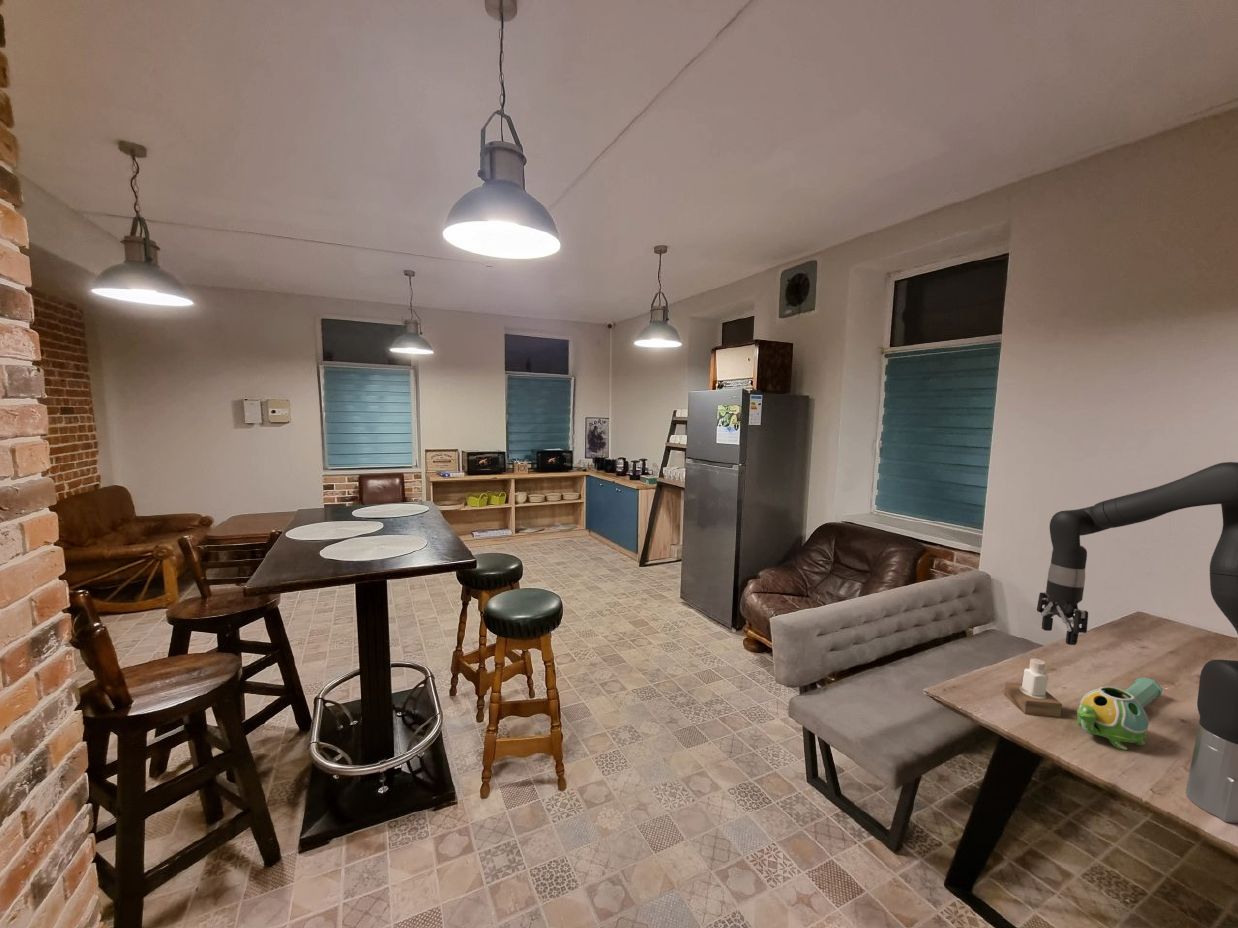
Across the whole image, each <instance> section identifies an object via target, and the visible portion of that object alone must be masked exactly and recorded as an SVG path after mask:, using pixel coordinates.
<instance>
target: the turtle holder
mask: <svg viewBox="0 0 1238 928" xmlns="http://www.w3.org/2000/svg"><path fill="white" fill-rule="evenodd" d="M1122 694H1123V695H1126V696H1127V697H1129V699H1126V698H1125V697H1124V696H1123V695H1122ZM1078 704H1079V707H1078V708H1077V710H1076V715H1077V720H1076V723H1077V725H1079V726H1080V727H1081V729H1083V731H1084V732H1085V733H1087V734H1089V735H1096V736H1100V737H1104V738H1107V739H1108V740H1109V743H1110V744H1111V746H1113V747H1114V748H1117V749H1119V750H1123V751H1127V750H1128V747H1127V746H1126V745H1124V744H1123V743H1121V742H1125V743H1133V744H1134V745H1137V746H1143V747H1144V746H1145V745H1146V742H1145V741H1144V740H1145V739H1146V738H1147V731H1148V729H1149V718H1148V716H1147V713H1146V710H1145V708H1142V706H1141V705H1140V703H1139V702H1138V701H1137V700H1136V699H1135V697H1134V696H1133V695H1132V694H1130V693H1128V692H1126V691H1125V690H1124V689H1121V688H1119V687H1114V686H1100V687H1098V688H1096V689H1093V690H1090V691H1088V692H1087V693H1086V694H1084V695H1083V697H1082V698H1081V700H1080V702H1079V703H1078Z"/></svg>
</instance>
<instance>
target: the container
mask: <svg viewBox="0 0 1238 928" xmlns="http://www.w3.org/2000/svg"><path fill="white" fill-rule="evenodd" d="M1124 691H1126V692H1128V693H1130V694H1132V695H1133V696H1134V697H1135V699H1136V700H1137V701H1138V702H1139V703H1140V705H1141V706H1142V708H1143V709H1145V707H1147V706H1148V704H1150V703H1151V702H1152V701H1154V699H1155V698H1160V697H1161V696H1162V692H1163V687H1161V685H1160V684H1159V683H1158V682H1157V681H1156V680H1154V679H1152V678H1148V677H1146V676H1143V677H1139V678H1137V679H1135V680H1134V683H1133V684H1132V685H1131V686H1129V687H1128V688H1127V689H1125V690H1124ZM1122 695H1123V694H1122ZM1123 696H1124V697H1125V698H1126V699H1129V697H1127V696H1126V695H1123Z"/></svg>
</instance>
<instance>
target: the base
mask: <svg viewBox="0 0 1238 928" xmlns="http://www.w3.org/2000/svg"><path fill="white" fill-rule="evenodd" d="M1003 692H1004V693H1003V696H1005V697H1006V698H1007V699H1008V700H1009V701H1010V702H1011V703H1012V704H1013V705H1015V707H1016V708H1017V709H1019V710H1020V711H1021V712H1022V713H1023V714H1024V713H1025V714H1024V715H1033V716H1043V717H1044V716H1045V717H1056V718H1060V717H1061V714H1062V713H1061V712H1062V706H1063V704H1062V702H1060V701H1059V700H1058V699H1056V697H1054V696H1053V695H1052V694H1051V693H1049V692H1048V691H1047V690H1046V694H1045V695H1044V696H1037V695H1031V694H1030V693H1028V692H1027V691H1026V690H1024V689H1023V688H1022V683H1017V682H1008V681H1006V682H1005V683H1004V690H1003Z"/></svg>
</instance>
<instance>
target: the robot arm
mask: <svg viewBox="0 0 1238 928" xmlns="http://www.w3.org/2000/svg"><path fill="white" fill-rule="evenodd" d="M1211 505H1220V506H1221V514H1222V530H1221V534H1220V537H1219V538H1218V540H1217V543H1216V546H1215V548H1214V550H1213V553H1212V556H1211V558H1210V563H1209V583H1210V584H1209V585H1210V594H1211V597H1212V599H1213V600H1214V602H1215V604H1216V605H1217V607H1218V608H1219V610H1220V611H1221V613H1222V614H1223V615H1224V616H1225V617H1226V618H1227V620H1228V621H1229V622H1230V624H1231V625H1232V626H1233V628H1234V630H1235V631H1236V633H1237V635H1238V461H1237V462H1235V461H1234V462H1233V461H1229V462H1219V463H1216V464H1213V465H1210V466H1207V467H1205V468H1203V469H1201V470H1198V471H1196V472H1193V473H1190V474H1189V475H1186V476H1183V477H1181V478H1179V479H1176V480H1173V481H1171V482H1168V483H1165V484H1162V485H1159V486H1156V487H1152V488H1149V489H1145V490H1142V491H1136V492H1134V493H1128V494H1125V495H1122V496H1118V497H1114V498H1110V499H1107V500H1103V501H1100V502H1097V503H1095V504H1094V505H1092V506H1087V507H1084V508H1083V507H1082V508H1078V509H1071V510H1069V509H1067V510H1060V511H1058V512H1056V513H1055V514H1053V516H1052V517H1051V519H1050V521H1049V534H1050V541H1051V545H1052V551H1051V559H1050V564H1049V565H1050V566H1049V568H1048V573H1047V581H1046V590H1045V592H1039V595H1038V599H1037V600H1038V601H1037V606H1036V611H1037V612H1038V613H1040V615H1041V617H1042V620H1041V629H1042V630H1043V631H1046V632H1048V631H1049V632H1050V631H1053V623H1054V618H1053V617H1055V616H1058V618H1060V619H1061V621H1062V623H1063V624H1065V626H1066V629H1067V630H1066V634H1065V635H1066V636H1065V644H1067V645H1069V646H1075V645H1077V644H1078V638H1079V634H1080V633H1081V634H1087V632H1088V621H1089V612H1088V611H1087V610H1083V609H1080V608H1079V607H1078V604H1079V603H1080V602H1082V601H1083V597H1084V592H1085V591H1084V590H1085V584H1086V583H1085V581H1086V566H1087V559H1088V551H1087V549H1086V548H1085V547H1084V546H1083V545H1081V536H1086V535H1091V534H1095V533H1099V532H1102V531H1106V530H1109V529H1115V528H1120V527H1125V526H1130V525H1133V524H1138V523H1144V522H1145V521H1146V522H1147V521H1150V520H1153V519H1155V518H1159V517H1160V516H1163V515H1166V514H1169V513H1173V512H1176V511H1179V510H1183V509H1189V508H1193V507H1203V506H1211ZM1072 624H1073V626H1072ZM1080 626H1081V627H1080ZM1196 704H1197V705H1196V706H1197V710H1198V715H1199V721H1198V727H1197V731H1196V736H1195V742H1194V746H1193V750H1192V751H1193V753H1192V757H1191V760H1190V761H1191V762H1190V768H1189V772H1188V778H1187V782H1186V783H1187V784H1186V788H1185V789H1186V790H1185V795H1186V797H1187V798H1188V800H1190V801H1191V802H1192V803H1193V804H1195V805H1196V806H1197V807H1198V808H1200V809H1201V810H1203V811H1205V812H1207V813H1209V814H1212V815H1213V816H1215V817H1217V818H1219V819H1220V820H1222V821H1223V822H1225V823H1234V824H1238V660H1230V659H1212V660H1211V659H1210V660H1209V661H1207V662H1206V663H1205V664H1204V665H1203V667H1202V669H1201V671H1200V676H1199V683H1198V693H1197V703H1196Z"/></svg>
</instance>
